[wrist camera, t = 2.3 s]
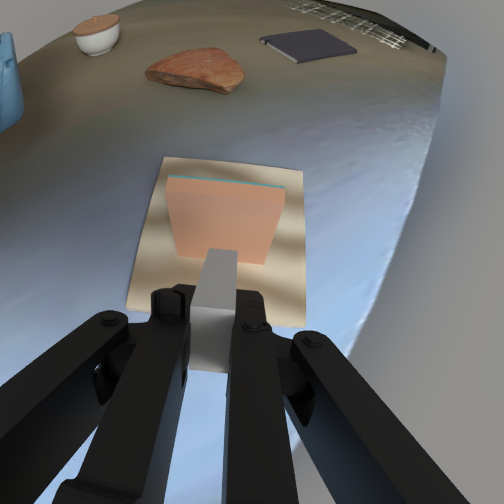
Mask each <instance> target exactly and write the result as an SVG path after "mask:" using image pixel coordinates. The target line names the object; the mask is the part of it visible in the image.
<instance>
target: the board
mask: <svg viewBox="0 0 504 504" xmlns="http://www.w3.org/2000/svg"><path fill="white" fill-rule="evenodd" d="M169 175H178V176H190V177H202V178H213V179H223V180H233V181H242V182H251V183H260V184H268V185H276V186H284V187H285V204H284V207H283V210H282V213H281V216H280V219H279V222H278V225H277V228H276V231H275V234H274V237H273V240H272V243H271V246H270V249H269V252H268V255H267V257H266V260H265V263H264V265H259V264H249V263H239V262H237V283H236V289H243V290H253V291H258V292H259V293H260V294H261V295H262V296H263V299H264V306H265V313H266V319H267V322H268V323H269V324H270V325H271V326H277V327H292V328H304V327H305V326H306V255H305V218H304V193H303V172H302V171H297V170H290V169H282V168H275V167H267V166H259V165H251V164H242V163H232V162H222V161H212V160H200V159H187V158H173V157H164V159H163V162H162V165H161V168H160V172H159V175H158V178H157V181H156V185H155V188H154V191H153V195H152V198H151V202H150V205H149V209H148V213H147V216H146V220H145V224H144V227H143V231H142V235H141V239H140V243H139V247H138V251H137V256H136V260H135V264H134V269H133V273H132V278H131V283H130V287H129V292H128V297H127V302H126V308H127V309H128V310H131V311H138V312H145V313H151V293H152V292H153V291H155V290H157V289H161V288H172V287H174V286H175V285H177V284H187V285H196V286H197V283H198V280H199V277H200V274H201V271H202V268H203V265H204V262H205V259H200V258H191V257H181V256H178V254H177V249H176V245H175V240H174V236H173V231H172V226H171V221H170V216H169V211H168V206H167V201H166V196H165V187H166V184H167V180H168V177H169Z"/></svg>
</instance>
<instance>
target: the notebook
mask: <svg viewBox="0 0 504 504" xmlns="http://www.w3.org/2000/svg"><path fill="white" fill-rule="evenodd" d="M261 42H262V43H264V44H265V45H268V46H270V47H271V48H273V49H275V50H276V51H278V52H280V53H281V54H283V55H285V56H286V57H288V58H290V59H291V60H293V61H294V62H296V63H297V64H299V63H304V62H308V61H313V60H319V59H324V58H330V57H335V56H342V55H348V54H355V53H357V50H356V49H355V48H353V47H352V46H350V45H348V44H347V43H345V42H343V41H341V40H340V39H338V38H336V37H334V36H333V35H331V34H329V33H327V32H325V31H323V30H321V29H317V30H307V31H298V32H290V33H283V34H276V35H270V36H264V37H261Z"/></svg>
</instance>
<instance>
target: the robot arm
mask: <svg viewBox="0 0 504 504" xmlns="http://www.w3.org/2000/svg"><path fill="white" fill-rule="evenodd" d="M23 112H24V99H23V93H22V87H21V82H20V76H19V71H18V65H17V59H16V53H15V47H14V42H13V37H12V33H11V32H7V33H2V34H1V35H0V135H1V133H2V132H3V131H4V130H6V129H7V128H9V127H10V126H12V125H13V124H15V123H16V122H17V121H18V120H19V119H20V118H21V117H22V115H23ZM237 259H238V251H234V250H224V249H214V248H209V250H208V253H207V256H206V259H205V262H204V265H203V268H202V271H201V274H200V277H199V280H198V283H197V286H196V285H187V284H177V285H175V286H174V287H172V288H161V289H157V290H155V291H153V292H152V293H151V316H150V318H149V320H148V322H144V323H128V317H127V316H126V315H125V314H123V313H121V312H118V311H114V310H111V311H110V310H107V311H103V312H99V313H97V314H95V315H94V316H93V317H91V318H90V319H88V320H87V321H86V322H84V323H83V324H82V325H80V326H79V327H78V328H76V329H75V330H73V331H72V332H71V333H69V334H68V335H67V336H65V337H64V338H63V339H61V340H60V341H59V342H57V343H56V344H55V345H53V346H52V347H51V348H49V349H48V350H47V351H46V352H44V353H43V354H42V355H40V356H39V357H38V358H36V359H35V360H34V361H32V362H31V363H30V364H29V365H27V366H26V367H25V368H23V369H22V370H21V371H20V372H18V373H17V374H16V375H15V376H13V377H12V378H11V379H9V380H8V381H7V382H6V383H4V384H3V385H2V386H1V387H0V504H34V502H35V501H36V500H37V499H38V497H39V496H40V495H41V494H42V493H43V491H44V490H45V489H46V488H47V486H48V485H49V484H50V483H51V482H52V480H53V479H54V478H55V477H56V476H57V474H58V473H59V472H60V471H61V469H62V468H63V467H64V466H65V465H66V463H67V462H68V461H69V460H70V459H71V457H72V456H73V455H74V454H75V453H76V451H77V450H78V449H79V448H80V446H81V445H82V444H83V443H84V442H85V440H86V439H87V438H88V437H89V436H90V434H91V433H92V432H93V431H94V430H95V428H96V427H97V426H98V425H99V426H98V428H97V430H96V432H95V435H94V437H93V439H92V442H91V444H90V447H89V449H88V451H87V454H86V456H85V459H84V461H83V463H82V466H81V468H80V471H79V473H78V475H77V477H76V478H74V479H66V480H65V481H63V482H62V483H61V484H60V486H59V488H58V490H57V492H56V494H55V497H54V499H53V502H52V504H164V498H165V492H166V486H167V480H168V475H169V469H170V463H171V458H172V453H173V447H174V442H175V437H176V432H177V426H178V421H179V416H180V411H181V406H182V401H183V397H184V392H185V387H186V382H187V367H188V363H189V369H191V370H200V371H209V372H218V373H228V380H227V390H226V414H225V434H224V455H223V478H222V502H221V504H299V501H298V495H297V488H296V481H295V474H294V467H293V461H292V454H291V448H290V441H289V434H288V428H287V421H286V415H285V409H286V411H287V413H288V415H289V417H290V419H291V421H292V423H293V425H294V426H295V428H296V430H297V432H298V434H299V436H300V438H301V440H302V442H303V444H304V446H305V447H306V449H307V451H308V453H309V455H310V457H311V459H312V461H313V462H314V464H315V466H316V468H317V470H318V472H319V474H320V476H321V477H322V479H323V481H324V483H325V485H326V487H327V488H328V490H329V492H330V494H331V496H332V497H333V499H334V501H335V503H336V504H470V503H469V502H468V501H467V500H466V499H465V497H464V496H463V495H462V494H461V493H460V491H459V490H458V489H457V488H456V487H455V485H454V484H453V483H452V482H451V481H450V480H449V478H448V477H447V476H446V475H445V474H444V473H443V471H442V470H441V469H440V468H439V467H438V465H437V464H436V463H435V462H434V461H433V459H431V457H430V456H429V455H428V454H427V453H426V451H425V450H424V449H423V448H422V447H421V445H420V444H419V443H418V442H417V441H416V440H415V438H414V437H413V436H412V435H411V434H410V432H409V431H408V430H407V429H406V428H405V427H404V425H403V424H402V423H401V422H400V421H399V420H398V418H397V417H396V416H395V415H394V414H393V412H392V411H391V410H390V409H389V408H388V407H387V405H386V404H385V403H384V402H383V401H382V400H381V398H380V397H379V396H378V395H377V394H376V393H375V391H374V390H373V389H372V388H371V387H370V385H369V384H368V383H367V382H366V381H365V380H364V378H363V377H362V376H361V375H360V374H359V373H358V371H357V370H356V369H355V368H354V367H353V366H352V364H351V363H350V362H349V361H348V360H347V359H346V357H345V356H344V355H343V354H342V353H341V352H340V350H339V349H338V348H337V347H336V346H335V345H334V343H333V342H332V341H331V340H330V339H329V338H328V337H327V336H326V335H324V334H321V333H319V332H317V331H311V330H310V331H300V332H298V333H296V334H295V335H294V337H293V340H292V339H288V338H284V337H281V336H278V335H276V334H274V333H273V332H272V327H271V325H270V324H269V323H268V322H267V319H266V313H265V306H264V299H263V296H262V295H261V294H260V293H259V292H258V291H253V290H243V289H236V283H237ZM97 365H98V368H97V369H96V370H95V368H96V367H97ZM284 407H285V409H284Z"/></svg>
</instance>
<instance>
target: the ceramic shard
mask: <svg viewBox="0 0 504 504" xmlns="http://www.w3.org/2000/svg"><path fill="white" fill-rule="evenodd" d="M145 74H146V76H147V78H148V79H149V80H151V81H155V82H162V83H166V84H170V85H175V86H176V85H179V86H186V87H190V88H206V89H211V90H212V91H215V92H218V93H220V94H224V95H226V94H229V93H230V92H231V91H232V90H234V89H236V88H237V87H238V85H239V84H240V83H241V82H242V81H243V80H244V78H245V74H244V71H243V69H242V68H241V67H240V66H239V64H238V63H237V62H236V61H234V60H233V59H232V58H231V57H230V56H229V55H228V54H227V53H225V52H224V51H223V50H222V49H218V48H200V49H194V50H188V51H184V52H180V53H177V54H174V55H171V56H169V57H167V58H165V59H163V60H160V61H159V62H157V63H155V64H153V65H152V66H150V67H148V68H147V69H146V70H145Z"/></svg>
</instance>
